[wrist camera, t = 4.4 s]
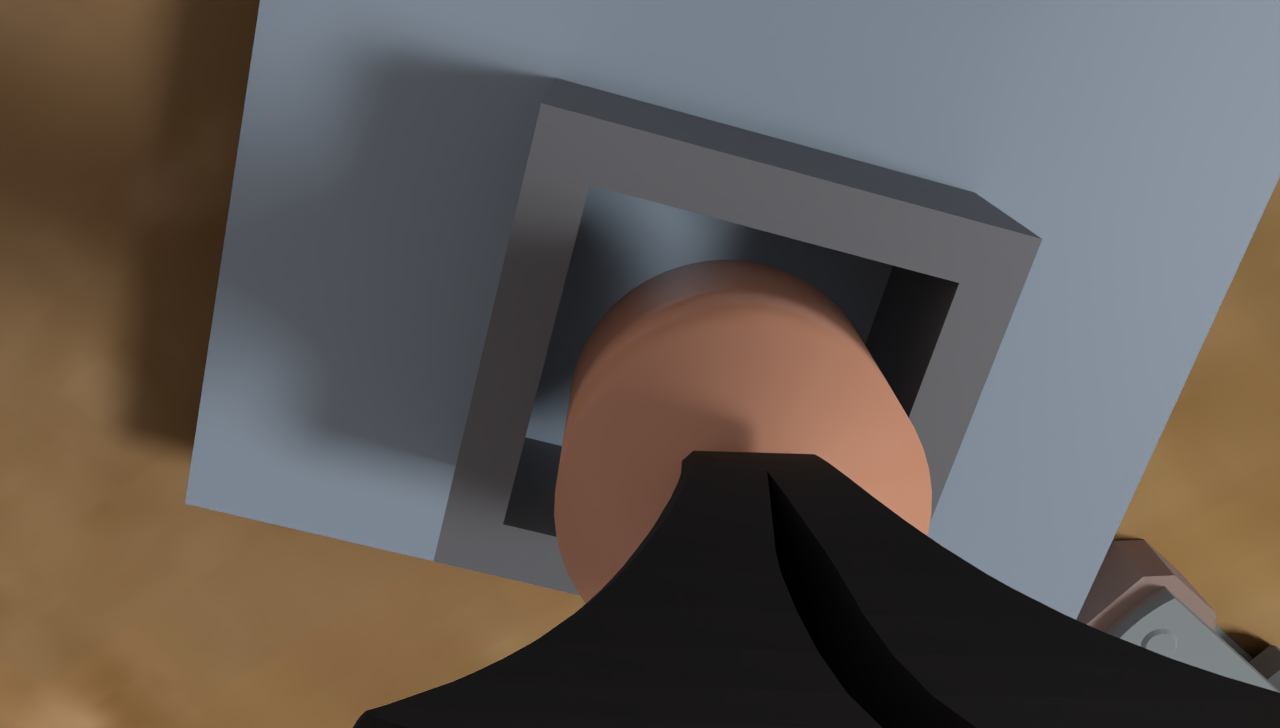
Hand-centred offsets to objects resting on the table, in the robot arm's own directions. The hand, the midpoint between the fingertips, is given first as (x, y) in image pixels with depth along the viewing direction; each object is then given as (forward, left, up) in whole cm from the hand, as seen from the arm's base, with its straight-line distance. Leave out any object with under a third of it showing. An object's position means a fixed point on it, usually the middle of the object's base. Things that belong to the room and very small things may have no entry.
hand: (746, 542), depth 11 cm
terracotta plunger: (0, 0, -4) cm, 4 cm away
